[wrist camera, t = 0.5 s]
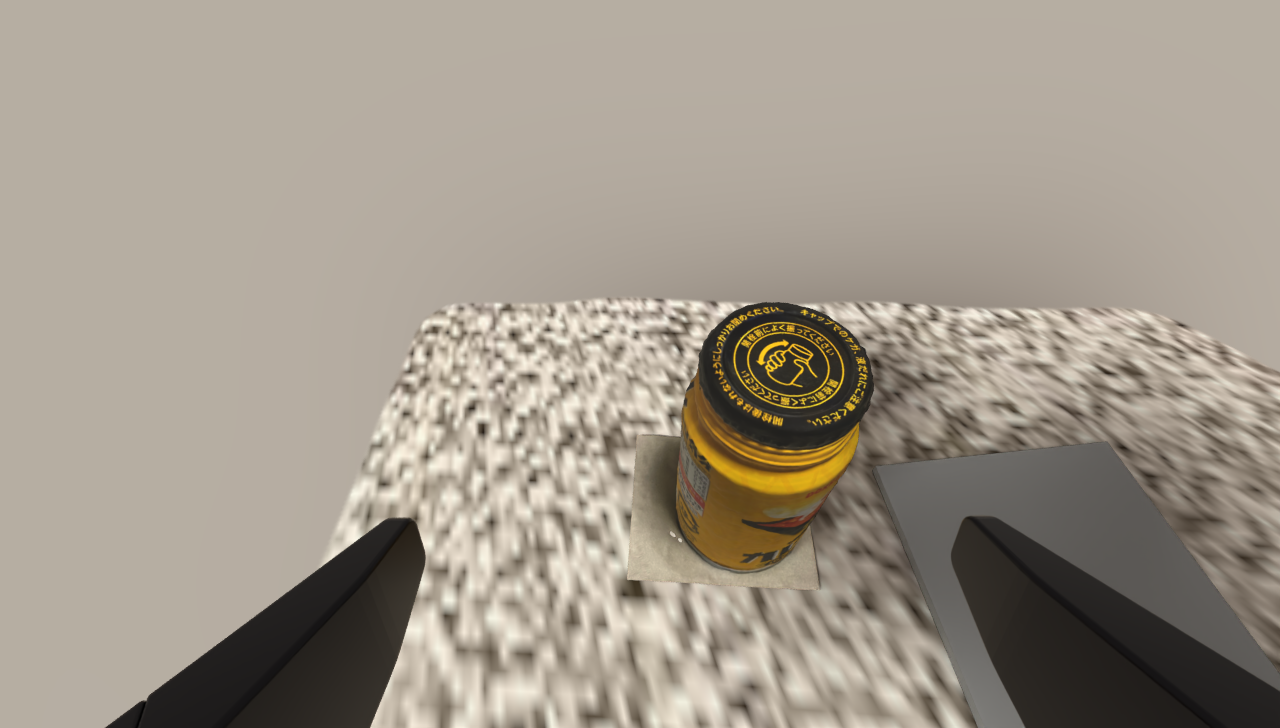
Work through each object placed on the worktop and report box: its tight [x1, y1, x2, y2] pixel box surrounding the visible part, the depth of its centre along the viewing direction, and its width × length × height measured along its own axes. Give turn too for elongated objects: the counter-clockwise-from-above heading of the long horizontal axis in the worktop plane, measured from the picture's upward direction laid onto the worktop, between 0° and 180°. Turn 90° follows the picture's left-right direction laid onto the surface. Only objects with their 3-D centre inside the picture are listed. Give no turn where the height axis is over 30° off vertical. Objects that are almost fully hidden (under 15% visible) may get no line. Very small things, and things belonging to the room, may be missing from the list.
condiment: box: [627, 302, 874, 590], centre depth 20 cm, size 7×8×12 cm
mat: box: [872, 442, 1280, 728], centre depth 22 cm, size 12×12×1 cm
